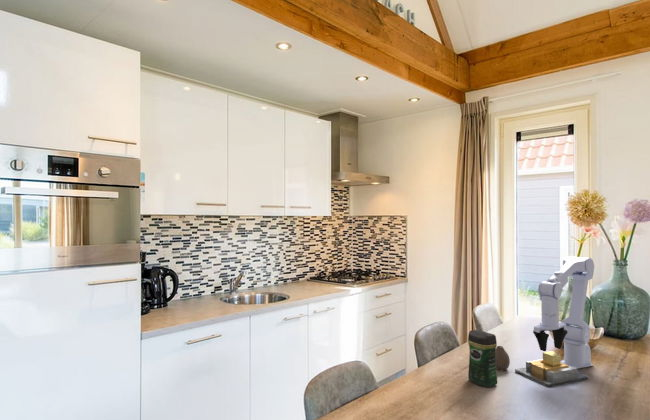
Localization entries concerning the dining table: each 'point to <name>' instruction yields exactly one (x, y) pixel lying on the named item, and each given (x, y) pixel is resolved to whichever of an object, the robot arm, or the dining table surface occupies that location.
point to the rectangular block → (551, 358)
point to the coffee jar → (482, 358)
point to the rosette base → (548, 382)
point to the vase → (501, 359)
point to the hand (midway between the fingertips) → (550, 349)
